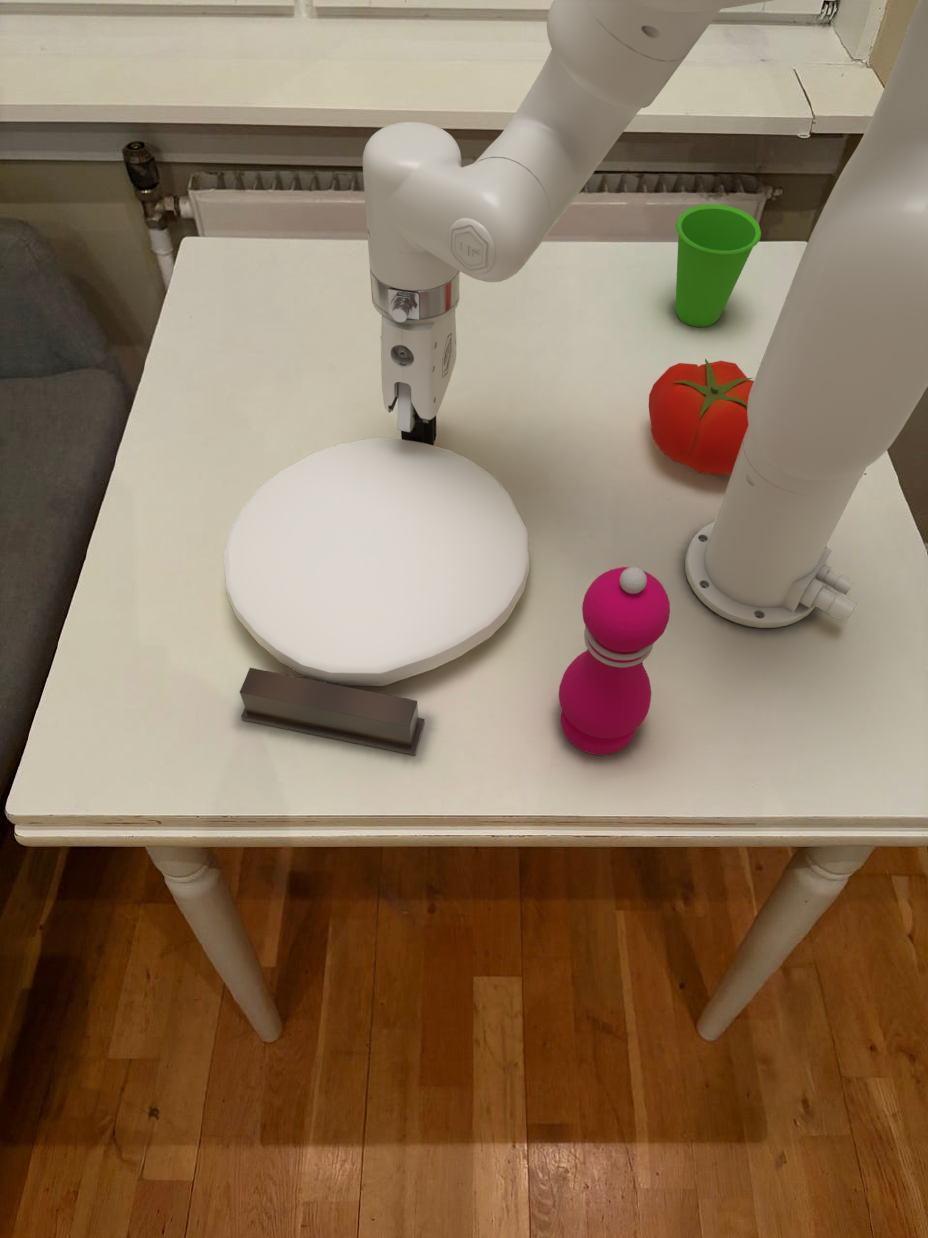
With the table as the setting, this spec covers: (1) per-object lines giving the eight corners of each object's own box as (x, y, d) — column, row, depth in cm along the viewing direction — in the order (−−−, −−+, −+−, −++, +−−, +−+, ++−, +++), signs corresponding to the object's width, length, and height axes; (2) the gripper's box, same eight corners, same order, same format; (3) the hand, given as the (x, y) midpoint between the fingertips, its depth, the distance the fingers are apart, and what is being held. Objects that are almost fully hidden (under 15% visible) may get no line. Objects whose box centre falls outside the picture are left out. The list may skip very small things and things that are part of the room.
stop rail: (424, 722, 78) (423, 697, 75) (415, 756, 76) (413, 732, 73) (255, 688, 80) (246, 662, 77) (241, 720, 78) (232, 695, 75)
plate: (363, 391, 95) (590, 509, 86) (363, 442, 100) (578, 559, 91) (149, 544, 79) (400, 708, 70) (161, 595, 84) (398, 755, 75)
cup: (645, 297, 112) (662, 211, 103) (715, 284, 113) (737, 197, 105) (678, 344, 107) (698, 257, 98) (750, 330, 108) (777, 243, 100)
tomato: (788, 450, 97) (814, 385, 90) (710, 510, 92) (731, 446, 85) (693, 388, 103) (710, 322, 96) (614, 441, 98) (627, 376, 91)
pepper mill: (536, 721, 78) (557, 571, 62) (593, 669, 81) (628, 513, 65) (602, 778, 75) (643, 636, 59) (659, 722, 78) (712, 572, 62)
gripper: (437, 345, 75) (437, 501, 90) (477, 239, 84) (471, 398, 99) (346, 330, 76) (362, 488, 91) (395, 227, 85) (402, 386, 100)
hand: (419, 441), depth 95 cm, fingers closed
